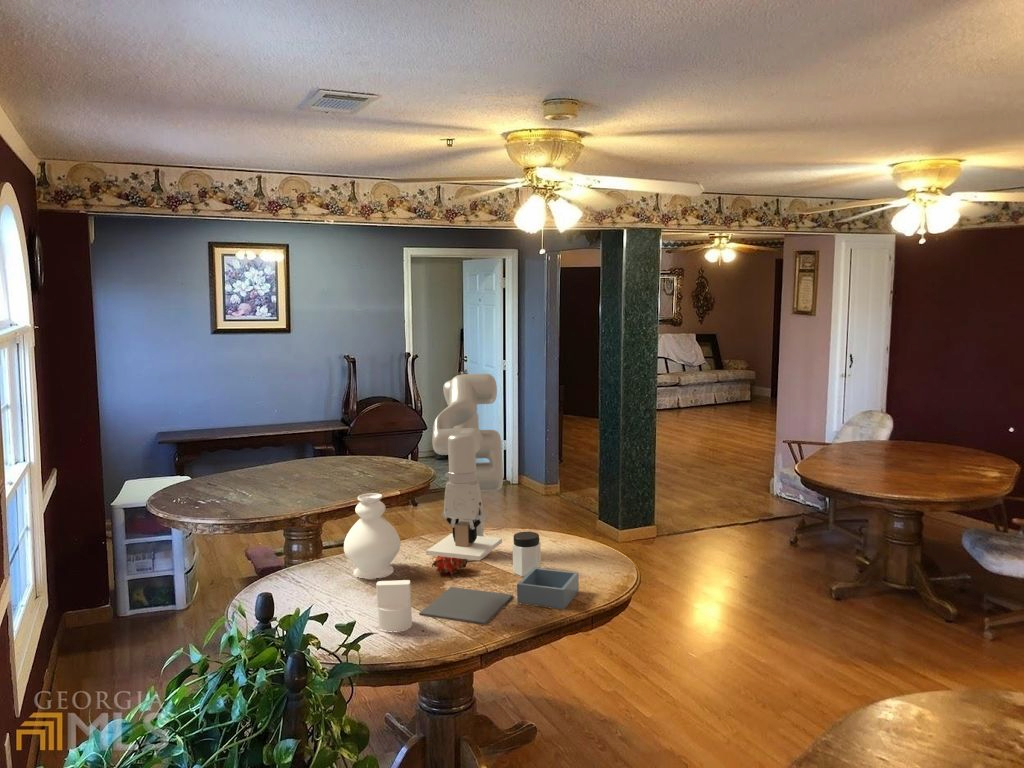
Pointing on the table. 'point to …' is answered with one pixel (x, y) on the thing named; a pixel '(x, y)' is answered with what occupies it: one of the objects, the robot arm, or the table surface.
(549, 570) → the open square box
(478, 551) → the lid
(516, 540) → the jar
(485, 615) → the mat
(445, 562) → the dragon fruit
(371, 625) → the table surface
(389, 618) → the cylinder with rectangular tab
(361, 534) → the decorative vase
